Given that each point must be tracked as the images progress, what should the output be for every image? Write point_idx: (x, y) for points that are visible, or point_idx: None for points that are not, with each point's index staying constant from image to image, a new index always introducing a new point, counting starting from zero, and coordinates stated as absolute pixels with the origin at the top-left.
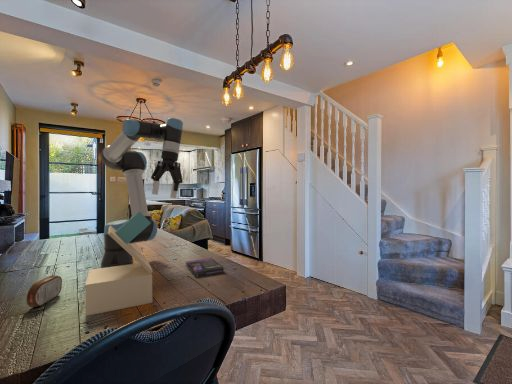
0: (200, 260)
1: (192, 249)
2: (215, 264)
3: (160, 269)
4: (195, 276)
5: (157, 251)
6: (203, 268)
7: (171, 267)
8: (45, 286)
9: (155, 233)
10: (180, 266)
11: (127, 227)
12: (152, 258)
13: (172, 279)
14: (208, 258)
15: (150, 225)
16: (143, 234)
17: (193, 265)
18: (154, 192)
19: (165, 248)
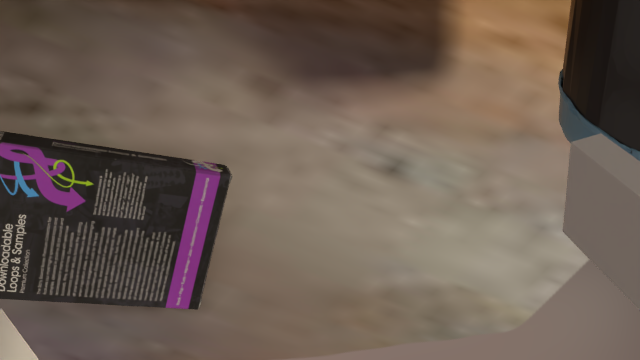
0: (190, 245)
1: (490, 298)
2: (48, 280)
3: (270, 32)
4: None
5: None
6: (15, 201)
7: (263, 96)
8: None
9: (565, 131)
10: (247, 141)
11: None
12: (500, 77)
13: (31, 11)
14: (198, 292)
15: (628, 117)
16: (579, 39)
17: (117, 179)
18: (593, 189)
19: None
